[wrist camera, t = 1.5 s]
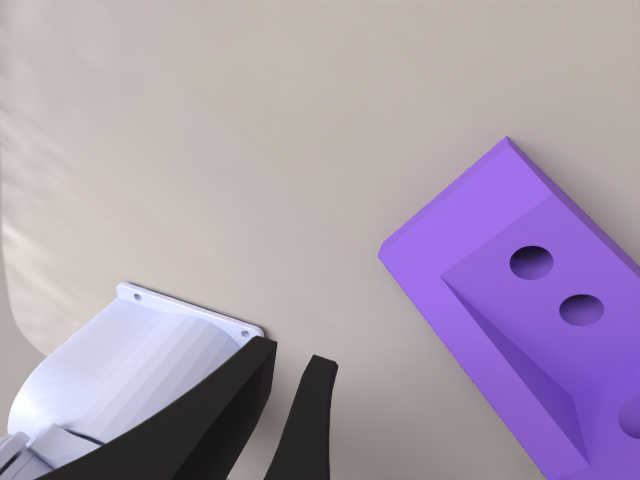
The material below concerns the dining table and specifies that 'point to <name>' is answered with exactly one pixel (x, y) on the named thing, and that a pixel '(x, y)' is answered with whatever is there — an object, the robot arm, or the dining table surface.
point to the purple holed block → (532, 312)
